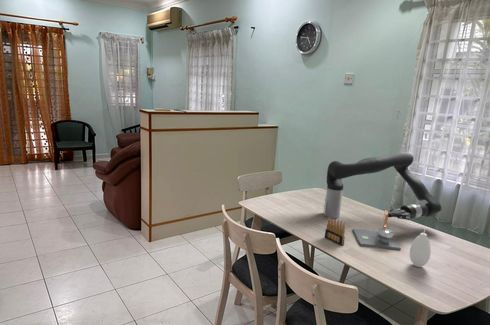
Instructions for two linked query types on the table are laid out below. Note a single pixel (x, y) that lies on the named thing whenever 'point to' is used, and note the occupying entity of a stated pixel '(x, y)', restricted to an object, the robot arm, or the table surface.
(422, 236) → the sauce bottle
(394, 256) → the table surface
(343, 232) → the ammunition clip
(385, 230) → the twist collar
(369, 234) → the lock base
